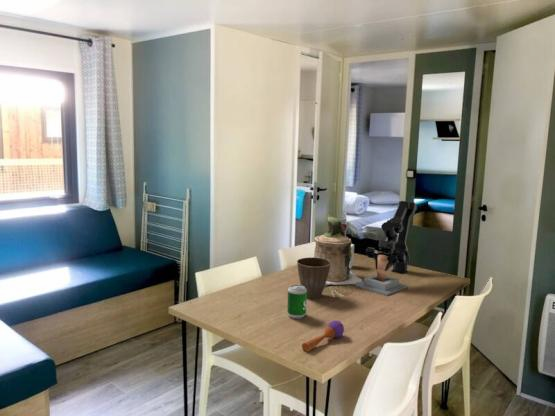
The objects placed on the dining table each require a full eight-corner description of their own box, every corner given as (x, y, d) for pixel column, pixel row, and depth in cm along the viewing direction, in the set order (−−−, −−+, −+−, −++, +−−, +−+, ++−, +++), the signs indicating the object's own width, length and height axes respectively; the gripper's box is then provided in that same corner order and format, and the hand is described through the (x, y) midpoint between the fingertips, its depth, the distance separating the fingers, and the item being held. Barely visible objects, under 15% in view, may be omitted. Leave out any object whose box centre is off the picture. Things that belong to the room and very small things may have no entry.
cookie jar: (316, 287, 218) (318, 221, 213) (301, 272, 241) (303, 212, 236) (364, 284, 224) (367, 220, 219) (344, 269, 247) (347, 211, 242)
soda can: (300, 321, 176) (301, 291, 175) (283, 316, 180) (284, 287, 179) (309, 314, 183) (310, 286, 181) (293, 310, 187) (293, 282, 185)
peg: (374, 281, 221) (376, 255, 219) (382, 280, 222) (384, 254, 220) (379, 284, 216) (381, 257, 214) (387, 283, 218) (389, 257, 216)
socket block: (354, 286, 220) (355, 278, 219) (375, 278, 232) (376, 271, 231) (386, 295, 207) (387, 287, 206) (407, 287, 219) (407, 279, 219)
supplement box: (337, 267, 251) (338, 245, 249) (340, 264, 258) (341, 242, 256) (350, 269, 248) (351, 246, 246) (353, 265, 255) (354, 243, 253)
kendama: (297, 338, 153) (332, 317, 167) (300, 355, 153) (335, 332, 168) (311, 340, 149) (345, 318, 163) (314, 357, 149) (348, 334, 163)
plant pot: (335, 296, 205) (337, 262, 202) (315, 304, 194) (316, 268, 192) (310, 288, 215) (311, 255, 213) (289, 296, 204) (290, 261, 202)
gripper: (367, 231, 224) (358, 257, 216) (405, 236, 214) (397, 264, 207) (372, 243, 232) (363, 269, 224) (409, 248, 222) (401, 276, 214)
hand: (381, 269), depth 217 cm, fingers closed on peg, 4 cm apart
